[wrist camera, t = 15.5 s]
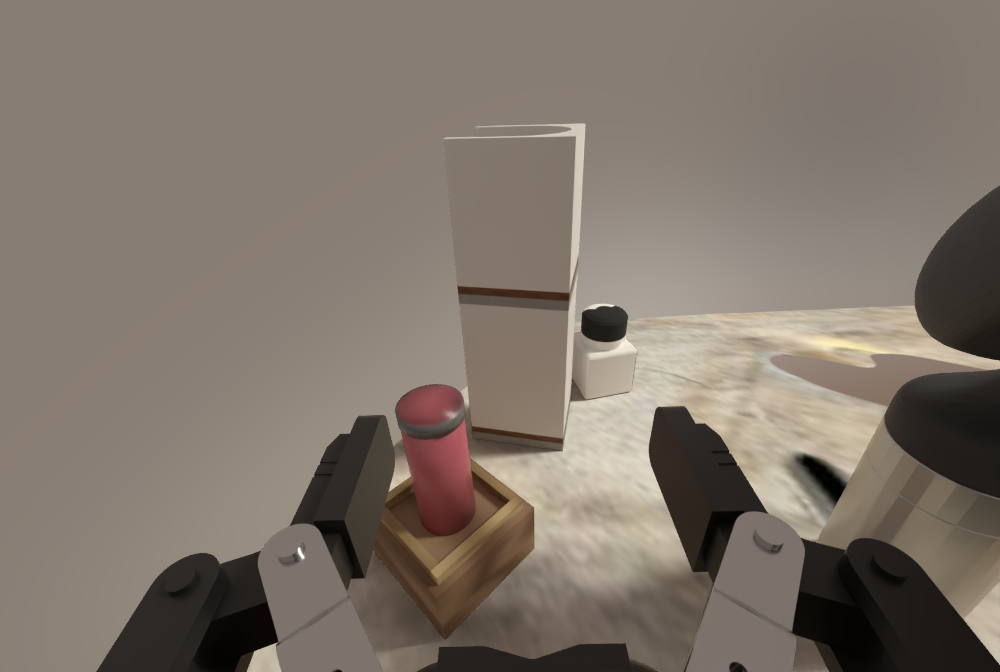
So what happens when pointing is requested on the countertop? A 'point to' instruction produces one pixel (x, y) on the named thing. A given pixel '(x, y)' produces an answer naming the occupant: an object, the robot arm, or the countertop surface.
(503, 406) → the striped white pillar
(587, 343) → the medicine bottle
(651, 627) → the countertop surface
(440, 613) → the wooden box
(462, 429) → the red lidded canister
